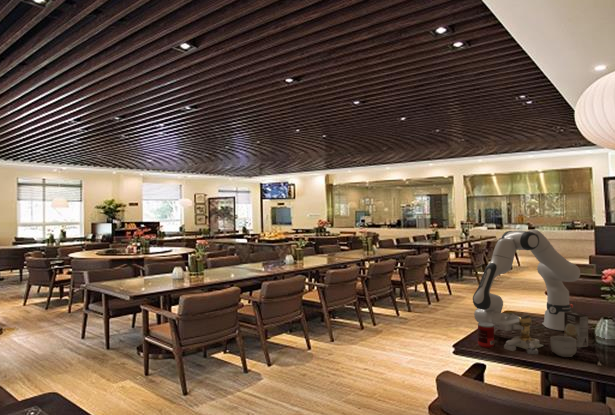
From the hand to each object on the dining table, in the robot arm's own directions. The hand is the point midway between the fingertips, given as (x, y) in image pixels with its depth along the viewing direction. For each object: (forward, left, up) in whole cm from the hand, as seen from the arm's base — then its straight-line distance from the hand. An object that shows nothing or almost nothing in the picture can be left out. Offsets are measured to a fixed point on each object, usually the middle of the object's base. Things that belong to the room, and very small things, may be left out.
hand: (527, 327), depth 217 cm
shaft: (+7, +6, -9) cm, 13 cm away
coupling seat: (+4, -1, -9) cm, 10 cm away
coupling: (0, -1, -8) cm, 8 cm away
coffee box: (-23, +12, -9) cm, 28 cm away
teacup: (-3, +18, -9) cm, 20 cm away
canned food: (+18, -11, -9) cm, 23 cm away
